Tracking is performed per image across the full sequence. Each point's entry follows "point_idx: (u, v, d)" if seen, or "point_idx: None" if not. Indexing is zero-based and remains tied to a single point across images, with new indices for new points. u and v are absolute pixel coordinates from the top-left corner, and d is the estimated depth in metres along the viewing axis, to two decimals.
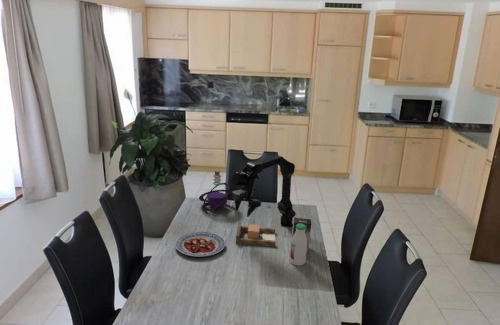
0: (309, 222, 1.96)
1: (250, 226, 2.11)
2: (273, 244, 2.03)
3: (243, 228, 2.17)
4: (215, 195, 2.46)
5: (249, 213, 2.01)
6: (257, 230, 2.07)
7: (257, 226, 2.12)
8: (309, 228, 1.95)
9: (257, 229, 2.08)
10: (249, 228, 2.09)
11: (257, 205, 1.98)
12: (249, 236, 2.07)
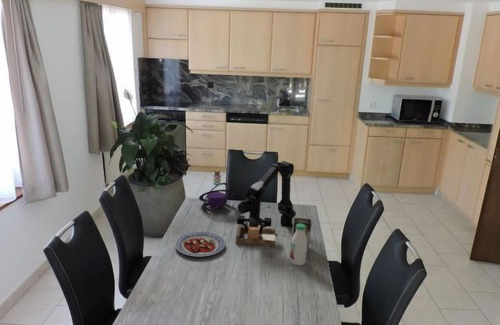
0: (309, 222, 1.96)
1: None
2: (273, 244, 2.03)
3: (243, 228, 2.17)
4: (215, 195, 2.46)
5: (260, 232, 2.10)
6: (257, 230, 2.07)
7: None
8: (309, 228, 1.95)
9: (257, 229, 2.08)
10: (249, 228, 2.09)
11: None
12: (249, 236, 2.07)
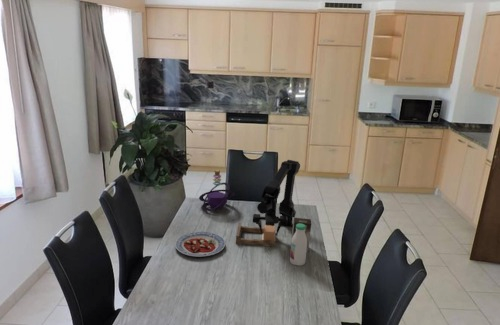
0: (309, 222, 1.96)
1: (265, 226, 2.11)
2: (273, 244, 2.03)
3: (243, 228, 2.17)
4: (215, 195, 2.46)
5: (278, 230, 2.09)
6: (273, 231, 2.06)
7: (272, 226, 2.11)
8: (309, 228, 1.95)
9: (273, 229, 2.08)
10: (265, 229, 2.08)
11: None
12: (265, 237, 2.06)
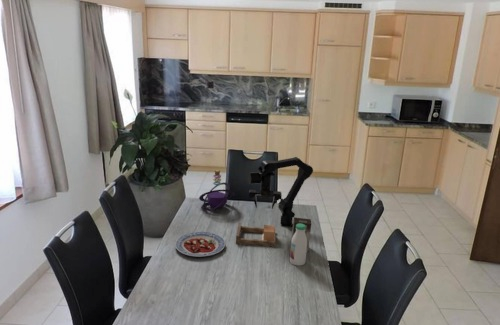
0: (309, 222, 1.96)
1: (265, 226, 2.11)
2: (273, 244, 2.03)
3: (243, 228, 2.17)
4: (215, 195, 2.46)
5: (273, 205, 2.20)
6: (273, 231, 2.06)
7: (272, 226, 2.11)
8: (309, 228, 1.95)
9: (273, 229, 2.08)
10: (265, 229, 2.08)
11: None
12: (265, 237, 2.06)
